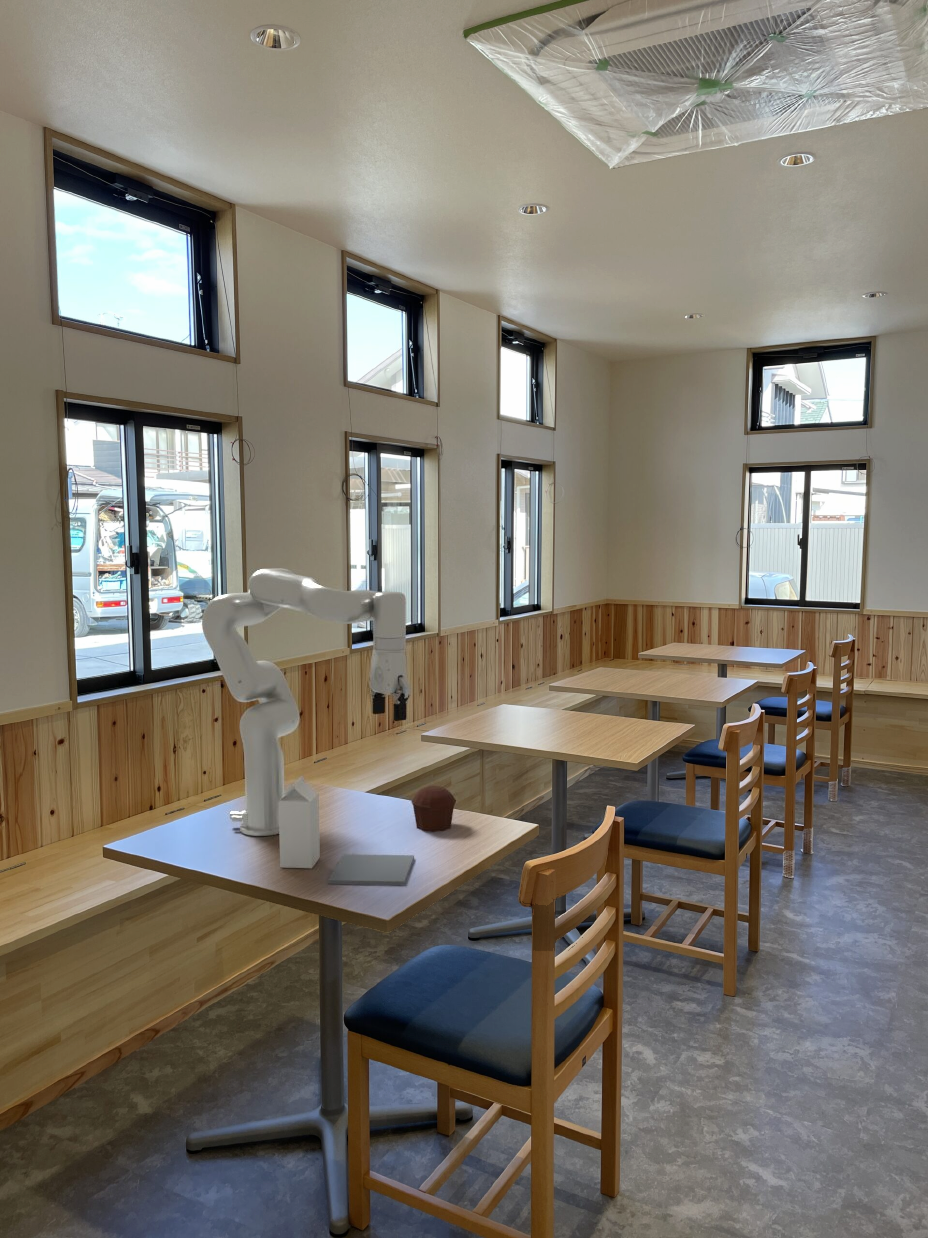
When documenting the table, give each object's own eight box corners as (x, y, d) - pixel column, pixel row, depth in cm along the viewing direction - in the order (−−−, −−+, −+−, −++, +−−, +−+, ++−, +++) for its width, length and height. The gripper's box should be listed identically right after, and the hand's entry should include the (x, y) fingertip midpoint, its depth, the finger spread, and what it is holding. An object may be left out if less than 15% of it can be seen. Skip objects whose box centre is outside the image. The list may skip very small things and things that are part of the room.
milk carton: (320, 858, 200) (318, 775, 199) (311, 869, 193) (309, 783, 192) (289, 857, 201) (287, 775, 200) (279, 868, 194) (277, 783, 193)
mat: (328, 884, 185) (328, 880, 185) (343, 857, 201) (343, 854, 201) (404, 885, 184) (404, 881, 184) (414, 858, 199) (414, 855, 199)
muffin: (461, 831, 219) (461, 791, 218) (418, 835, 216) (417, 795, 215) (448, 818, 230) (448, 780, 230) (407, 821, 227) (406, 783, 227)
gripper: (357, 642, 212) (357, 712, 213) (394, 649, 198) (394, 724, 199) (384, 640, 216) (384, 709, 218) (423, 647, 202) (422, 721, 204)
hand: (389, 716), depth 208 cm, fingers open, 9 cm apart
